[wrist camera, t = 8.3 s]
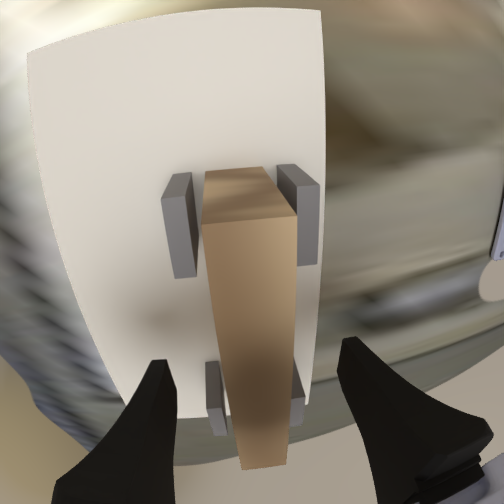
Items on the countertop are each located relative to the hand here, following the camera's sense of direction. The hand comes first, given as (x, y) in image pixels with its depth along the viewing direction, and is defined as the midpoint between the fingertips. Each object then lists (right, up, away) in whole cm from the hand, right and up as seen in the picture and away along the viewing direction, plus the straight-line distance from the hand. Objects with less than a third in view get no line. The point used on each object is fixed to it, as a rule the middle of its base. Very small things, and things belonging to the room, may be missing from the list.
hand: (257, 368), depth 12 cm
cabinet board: (-3, +4, +4) cm, 6 cm away
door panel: (-1, +2, +4) cm, 5 cm away
